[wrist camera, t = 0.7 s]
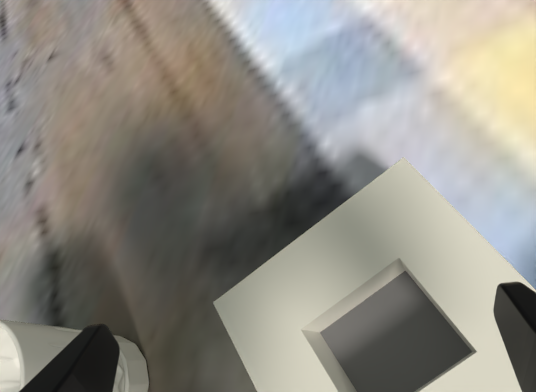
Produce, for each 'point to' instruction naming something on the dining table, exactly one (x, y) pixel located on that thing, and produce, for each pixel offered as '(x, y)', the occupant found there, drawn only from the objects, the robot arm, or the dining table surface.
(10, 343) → the white cup
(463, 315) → the socket plate
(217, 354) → the dining table surface
